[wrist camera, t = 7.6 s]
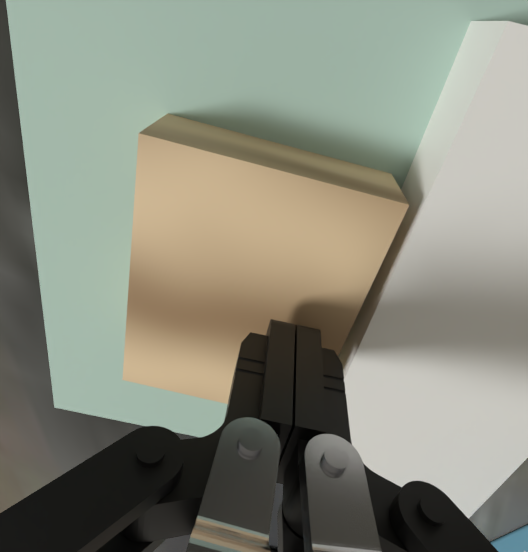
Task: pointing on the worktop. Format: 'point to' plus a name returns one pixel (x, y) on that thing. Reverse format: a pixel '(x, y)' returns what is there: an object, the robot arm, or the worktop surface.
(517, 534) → the data package
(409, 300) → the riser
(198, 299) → the coaster
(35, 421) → the worktop surface
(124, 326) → the mat
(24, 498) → the robot arm
